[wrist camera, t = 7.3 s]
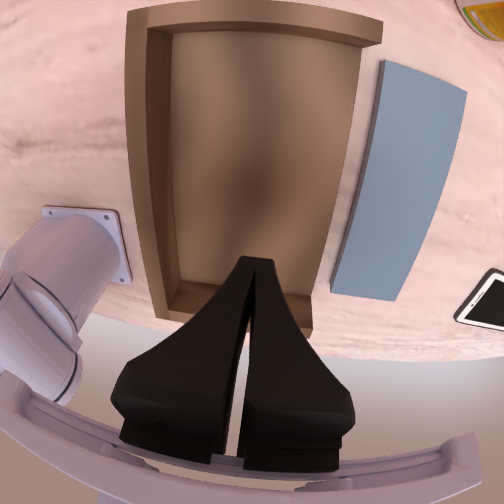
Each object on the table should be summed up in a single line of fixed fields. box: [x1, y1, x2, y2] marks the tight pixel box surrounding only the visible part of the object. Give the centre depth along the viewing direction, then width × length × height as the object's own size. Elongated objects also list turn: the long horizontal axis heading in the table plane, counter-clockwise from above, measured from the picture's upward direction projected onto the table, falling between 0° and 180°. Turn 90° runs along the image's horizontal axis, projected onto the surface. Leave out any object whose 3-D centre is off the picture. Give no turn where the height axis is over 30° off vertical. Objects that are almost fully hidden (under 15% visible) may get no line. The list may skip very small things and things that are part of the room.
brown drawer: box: [125, 0, 383, 339], centre depth 17 cm, size 12×21×5 cm, turn 176°
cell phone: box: [453, 268, 504, 331], centre depth 23 cm, size 8×15×1 cm, turn 76°
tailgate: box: [330, 60, 467, 301], centre depth 18 cm, size 1×18×6 cm
